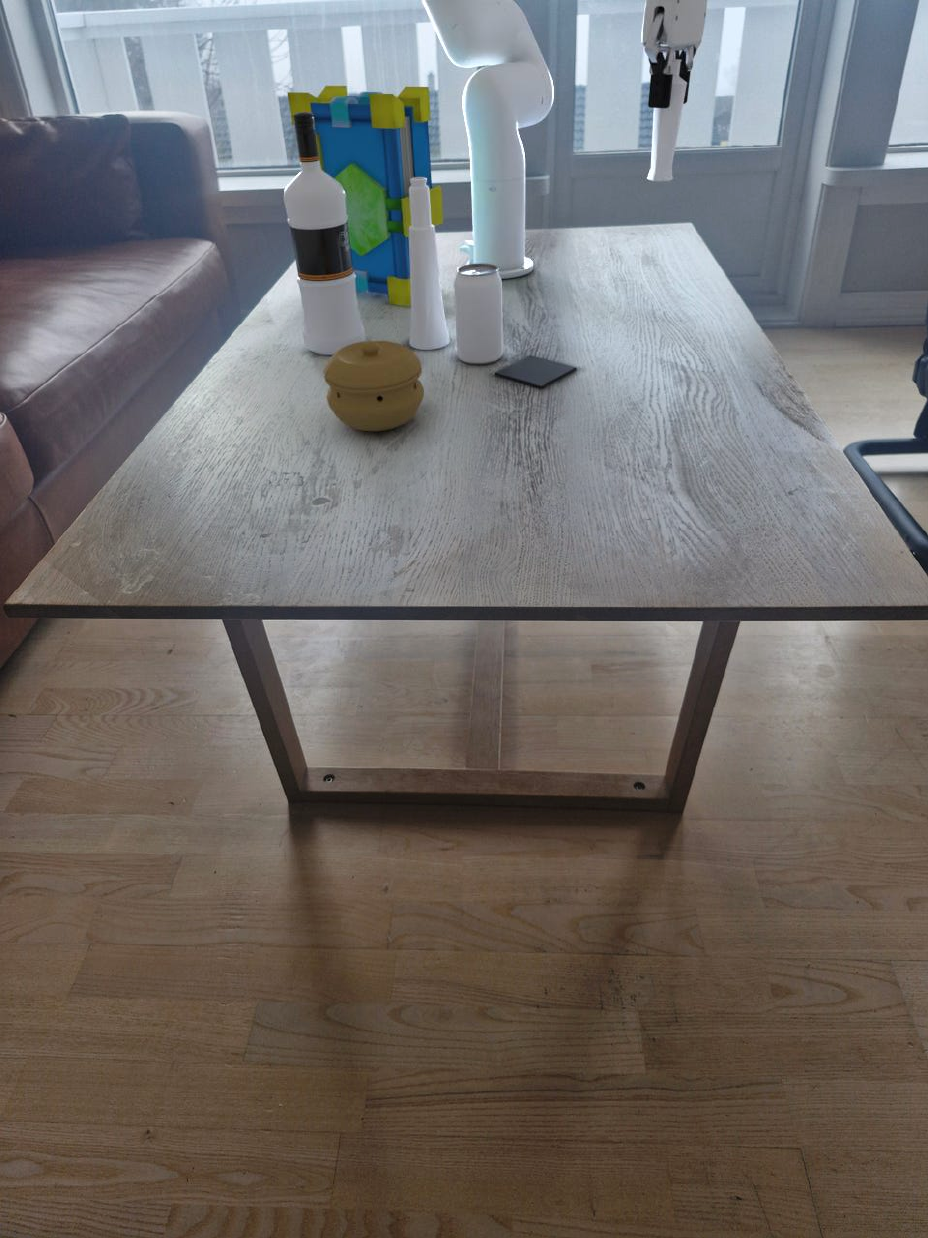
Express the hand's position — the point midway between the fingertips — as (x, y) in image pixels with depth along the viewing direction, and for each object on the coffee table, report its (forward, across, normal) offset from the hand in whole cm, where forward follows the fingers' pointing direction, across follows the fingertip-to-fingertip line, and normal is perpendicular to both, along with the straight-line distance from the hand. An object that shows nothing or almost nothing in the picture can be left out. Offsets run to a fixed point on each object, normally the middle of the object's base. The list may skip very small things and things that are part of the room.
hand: (667, 103), depth 116 cm
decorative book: (+28, +22, -42) cm, 55 cm away
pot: (+27, +61, -3) cm, 67 cm away
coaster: (+27, +38, +4) cm, 46 cm away
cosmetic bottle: (+27, +37, -16) cm, 49 cm away
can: (+27, +37, -6) cm, 47 cm away
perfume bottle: (+10, 0, 0) cm, 10 cm away
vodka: (+27, +46, -27) cm, 60 cm away
